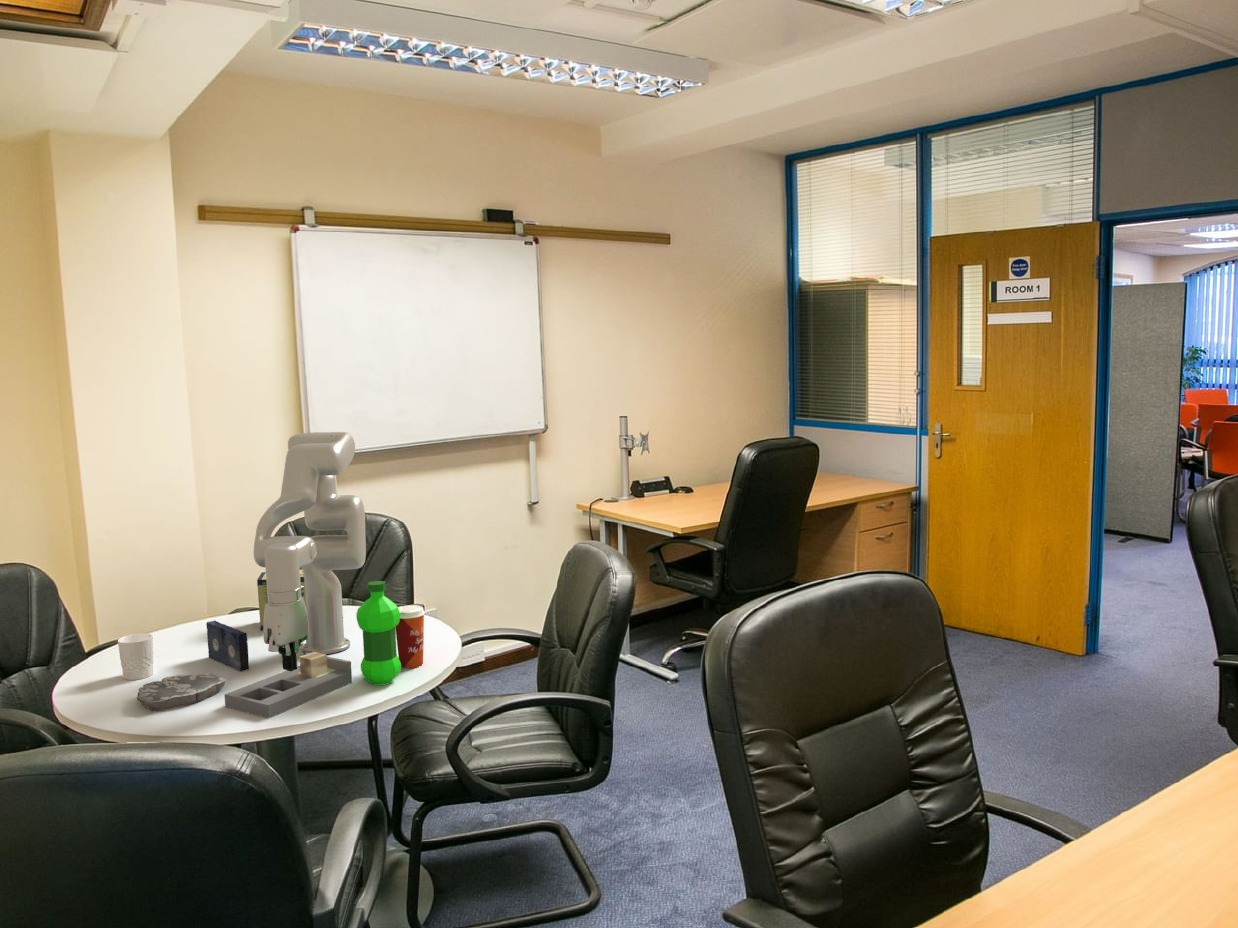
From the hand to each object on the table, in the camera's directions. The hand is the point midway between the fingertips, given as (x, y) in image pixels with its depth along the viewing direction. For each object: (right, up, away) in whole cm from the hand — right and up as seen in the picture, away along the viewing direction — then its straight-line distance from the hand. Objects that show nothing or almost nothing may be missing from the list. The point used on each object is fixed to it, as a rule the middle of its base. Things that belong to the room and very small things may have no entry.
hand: (290, 669), depth 222 cm
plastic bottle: (+20, -5, +7) cm, 22 cm away
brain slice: (-27, -7, 0) cm, 28 cm away
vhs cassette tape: (-25, -4, +24) cm, 35 cm away
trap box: (0, -6, 0) cm, 6 cm away
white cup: (-44, -5, +15) cm, 47 cm away
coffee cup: (+25, -3, +20) cm, 32 cm away
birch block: (+4, -2, +5) cm, 7 cm away
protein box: (-22, 0, +60) cm, 63 cm away
